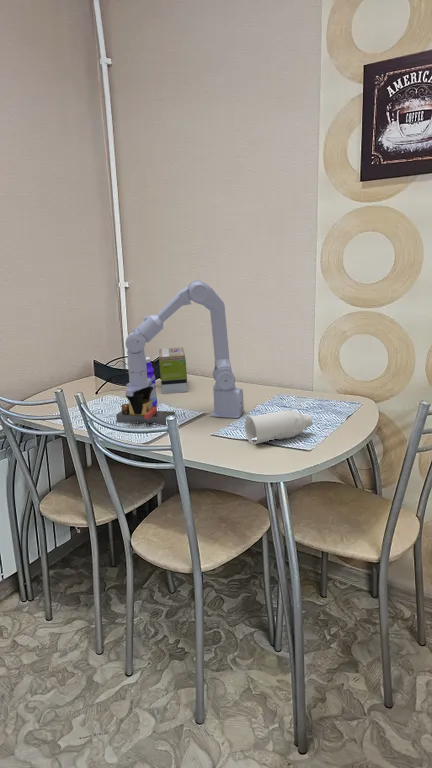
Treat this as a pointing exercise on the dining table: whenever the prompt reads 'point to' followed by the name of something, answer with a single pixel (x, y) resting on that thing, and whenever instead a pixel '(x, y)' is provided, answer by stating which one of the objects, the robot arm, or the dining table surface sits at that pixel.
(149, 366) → the bottle
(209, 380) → the dining table surface
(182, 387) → the tea box
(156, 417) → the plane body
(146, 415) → the lever
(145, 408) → the tan rectangular block
